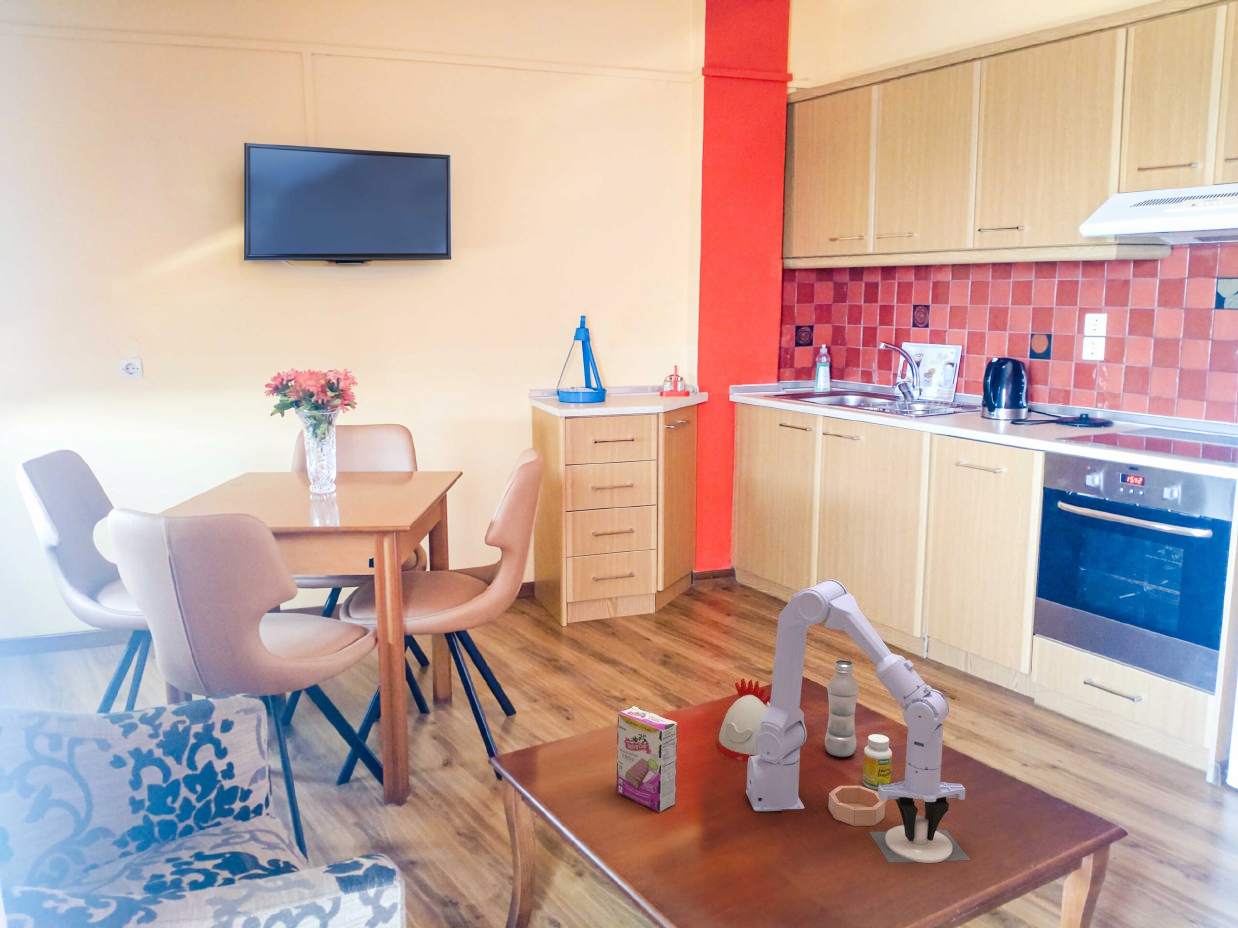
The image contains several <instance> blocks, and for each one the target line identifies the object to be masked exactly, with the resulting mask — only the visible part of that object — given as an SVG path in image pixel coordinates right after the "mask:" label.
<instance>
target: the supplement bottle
mask: <svg viewBox="0 0 1238 928" xmlns="http://www.w3.org/2000/svg"><path fill="white" fill-rule="evenodd" d="M867 744H868V745H866V746H865V747H864V749H863V767H862V768H863V769H862V783H863V785H864V787H865V788H868V789H871V790H874V791H878V786H880V785H889V784H892V767H893V766H892V765H893V752H892V749H891V748H890V747H889V746H890V738H889V737H888V736H886V735H884V734H880V733H878V734H876V733H872V734H870V735H868V737H867Z"/></svg>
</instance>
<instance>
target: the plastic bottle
mask: <svg viewBox="0 0 1238 928" xmlns="http://www.w3.org/2000/svg"><path fill="white" fill-rule="evenodd" d="M834 672H835V673H834V674H833V675H832V676H831V678H830V679H829V680H828V683H827V689H826V690H827V696H828V697H827V698H828V719H827V720H828V721H827V727H826V732H825V738H824V746H825V750H826V752H827V753H828V754H830V755H831V756H834V757H839V758H846V757H850V756H851V757H852V755H853V754H854V753H855V751H856V747H857V737H856V730H855V729H856V728H855V716H856V715H855V713H856V706H857V700H858V694H859V690H860V689H859V683H858V682H857V680H856V679H855V677H854V675H853V673H854V663H853V661H851V660H848V659H838V660H835V662H834Z"/></svg>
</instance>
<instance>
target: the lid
mask: <svg viewBox="0 0 1238 928" xmlns="http://www.w3.org/2000/svg"><path fill="white" fill-rule="evenodd" d="M928 822H929V820H928V819H927V818H926V817H925V815H919V814H918V815H916V819H915V827H914V840H913V841H909V840H908V839H907V837H906V836H905V829H904V824H902V825H897V826H894V827H892V828H889V829H888V830H886V831H887V833H886V836H885V843H886V845H887V847H888V848H889V849H890V850H891V851H892V852H893V853H895V854H896V855H898V856H900V857H903V858H905V859H908V860H911V861H916V862H915V863H922V864H923V863H924V864H925V863H926V864H934V863H935V864H936V863H940V862H945V861H944V860H946V859H948V858H949V857H950V856H951V855H952V843H951V842H950V840H949V839H948V838H947V837H946V836H944V835H943V834H941V833H939V832H937V831H936V832H935V834H934V838H933V840H932V841H929V840H928V839H927V838H928Z"/></svg>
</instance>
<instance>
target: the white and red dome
mask: <svg viewBox="0 0 1238 928" xmlns="http://www.w3.org/2000/svg"><path fill="white" fill-rule="evenodd" d="M734 685H735V688H736V689H735V690H736V692H737V694H738V696H739V698H738V699H737V700H735V701H734V702H733V704H731V706H730V707H729V708H728V709H727V712H726V714H725V716H724V719H723V721H722V724H721V728H720V730H719V734H718V749H719V750H720V752H721V753H722V754H724V755H725V756H727V757H728V758H731V759H734V760H737V761H742V762H747V763H748V759H749V757H751V756H756V755H759V754H758V752H757V750H756V747H755V737H756V735H757V733H758V732H759V730H760V728H761V721H762V719H763V717H764V716H765V714H766V712H767V711H768V709H769V707H770V702H769V701H770V700H771V693H770V694H769V695H768V696H766V698H765V697H764V694H765V692H766V687H763V688H761V690H760V682H759V680H757V681H755V683H754V684H753V679H752V678H751V679H750V680H748V684H746V680H745V678H744V677H743V678H741V680H740V684H739V682H738V681H736V682H735V683H734ZM753 685H754V686H753Z"/></svg>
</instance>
